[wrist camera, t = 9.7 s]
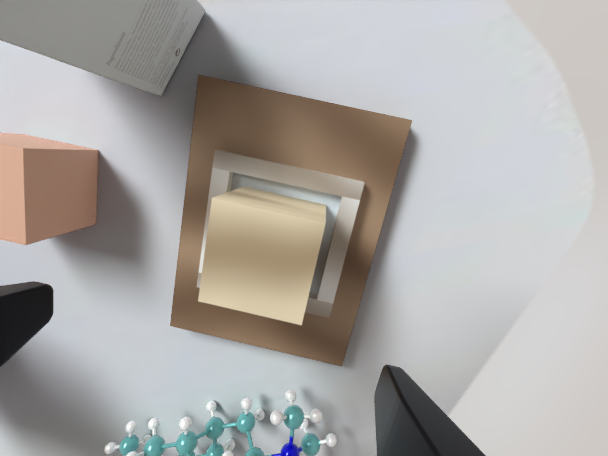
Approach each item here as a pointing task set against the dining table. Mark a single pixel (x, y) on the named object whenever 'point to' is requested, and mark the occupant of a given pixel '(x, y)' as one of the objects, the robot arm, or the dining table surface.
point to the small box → (106, 35)
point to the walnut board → (294, 183)
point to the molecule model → (216, 426)
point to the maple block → (261, 253)
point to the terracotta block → (45, 188)
